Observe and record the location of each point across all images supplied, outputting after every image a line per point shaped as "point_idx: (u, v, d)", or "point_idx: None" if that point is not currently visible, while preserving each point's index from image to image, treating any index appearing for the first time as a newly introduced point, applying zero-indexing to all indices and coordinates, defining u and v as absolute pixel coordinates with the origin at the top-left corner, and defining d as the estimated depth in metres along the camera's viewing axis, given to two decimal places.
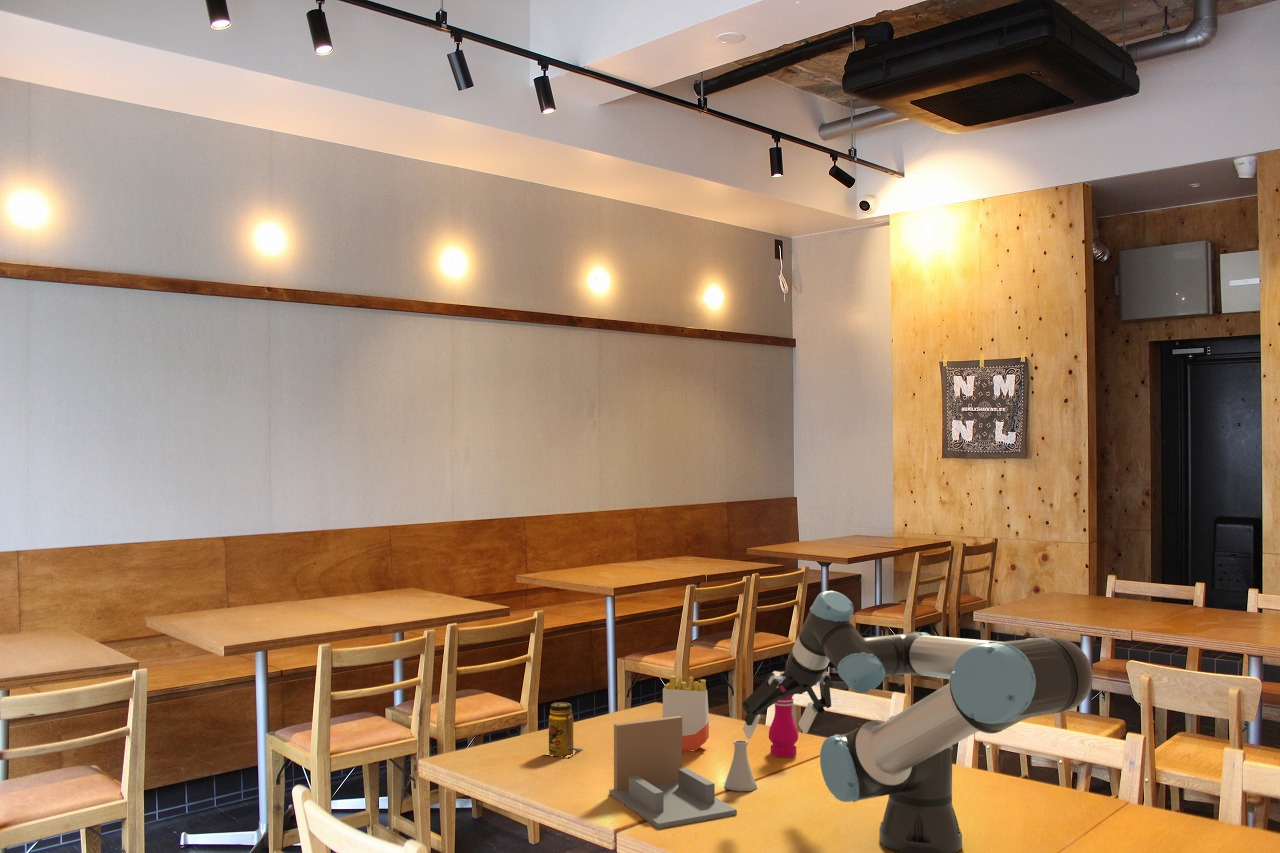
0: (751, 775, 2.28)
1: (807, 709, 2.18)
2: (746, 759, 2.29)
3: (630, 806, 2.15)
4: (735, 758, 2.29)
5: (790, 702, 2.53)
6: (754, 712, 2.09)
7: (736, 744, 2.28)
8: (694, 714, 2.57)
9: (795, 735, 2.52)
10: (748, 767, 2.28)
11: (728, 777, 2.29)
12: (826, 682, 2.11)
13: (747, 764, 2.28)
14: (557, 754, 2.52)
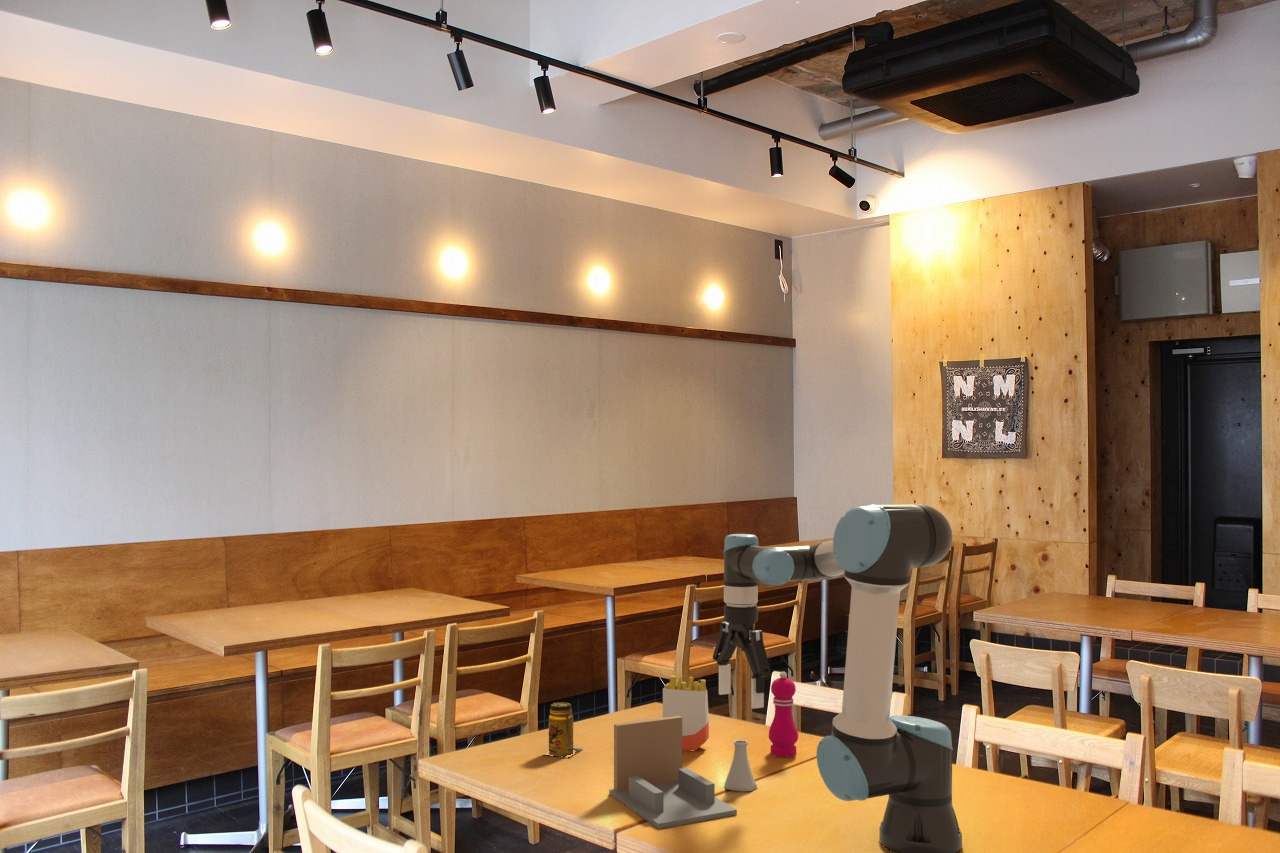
0: (751, 775, 2.28)
1: None
2: (746, 759, 2.29)
3: (630, 806, 2.15)
4: (735, 758, 2.29)
5: (790, 702, 2.53)
6: None
7: (736, 744, 2.28)
8: (694, 714, 2.57)
9: (795, 735, 2.52)
10: (748, 767, 2.28)
11: (728, 777, 2.29)
12: (751, 637, 2.24)
13: (747, 764, 2.28)
14: (557, 754, 2.52)
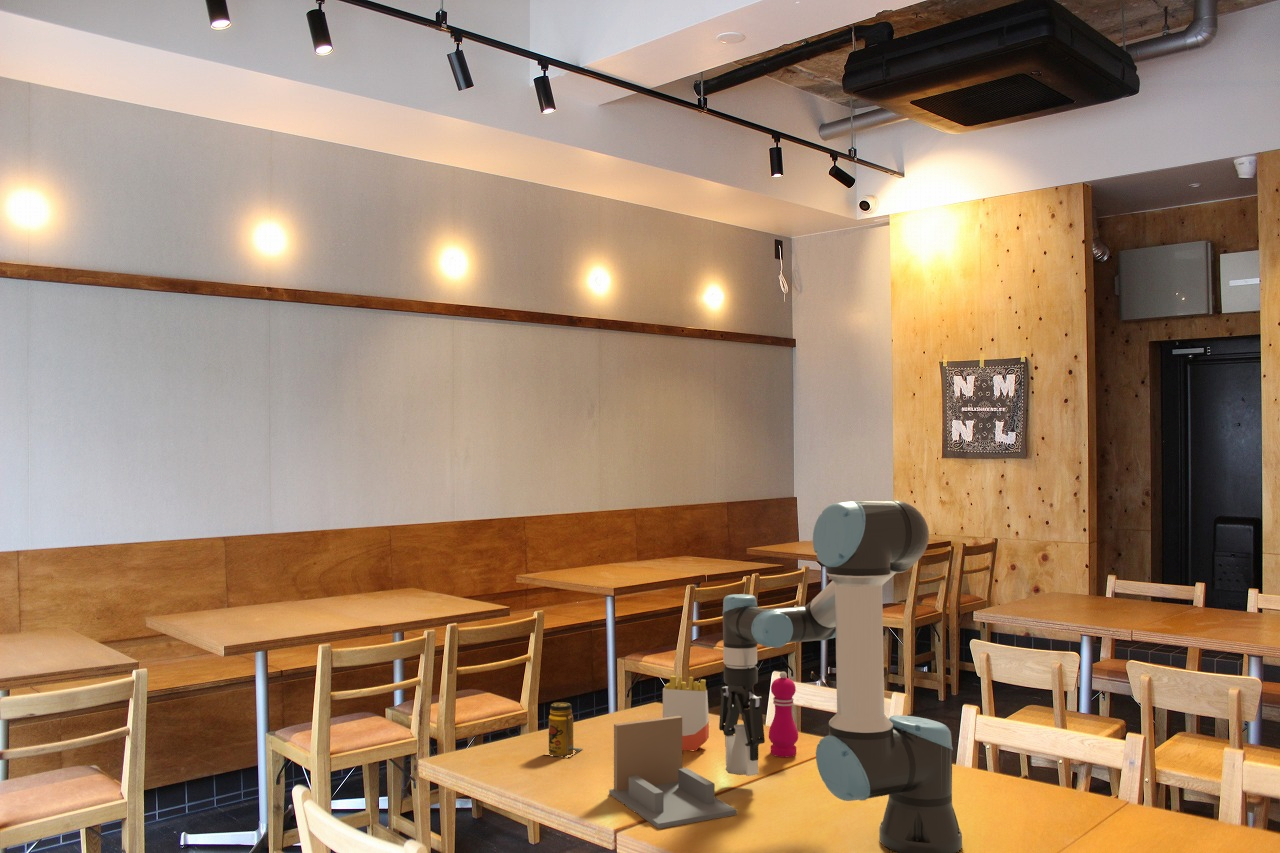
0: None
1: None
2: None
3: (630, 806, 2.15)
4: (736, 742, 2.28)
5: (790, 702, 2.53)
6: None
7: (737, 728, 2.28)
8: (694, 714, 2.57)
9: (795, 735, 2.52)
10: None
11: (729, 761, 2.29)
12: (750, 703, 2.24)
13: None
14: (557, 754, 2.52)
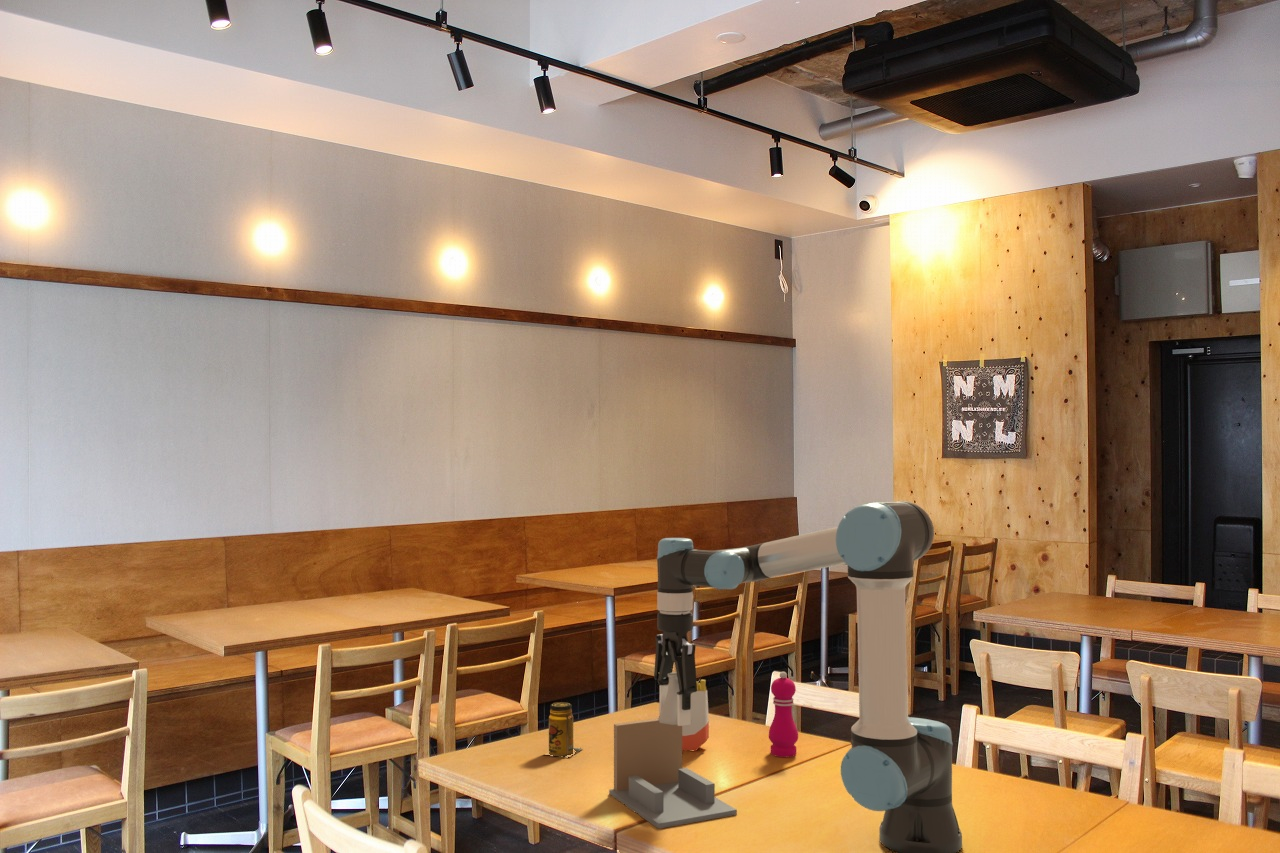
0: None
1: None
2: None
3: (630, 806, 2.15)
4: (669, 690, 2.19)
5: (790, 702, 2.53)
6: None
7: (670, 676, 2.18)
8: (694, 714, 2.57)
9: (795, 735, 2.52)
10: None
11: (662, 711, 2.19)
12: (682, 650, 2.14)
13: None
14: (557, 754, 2.52)
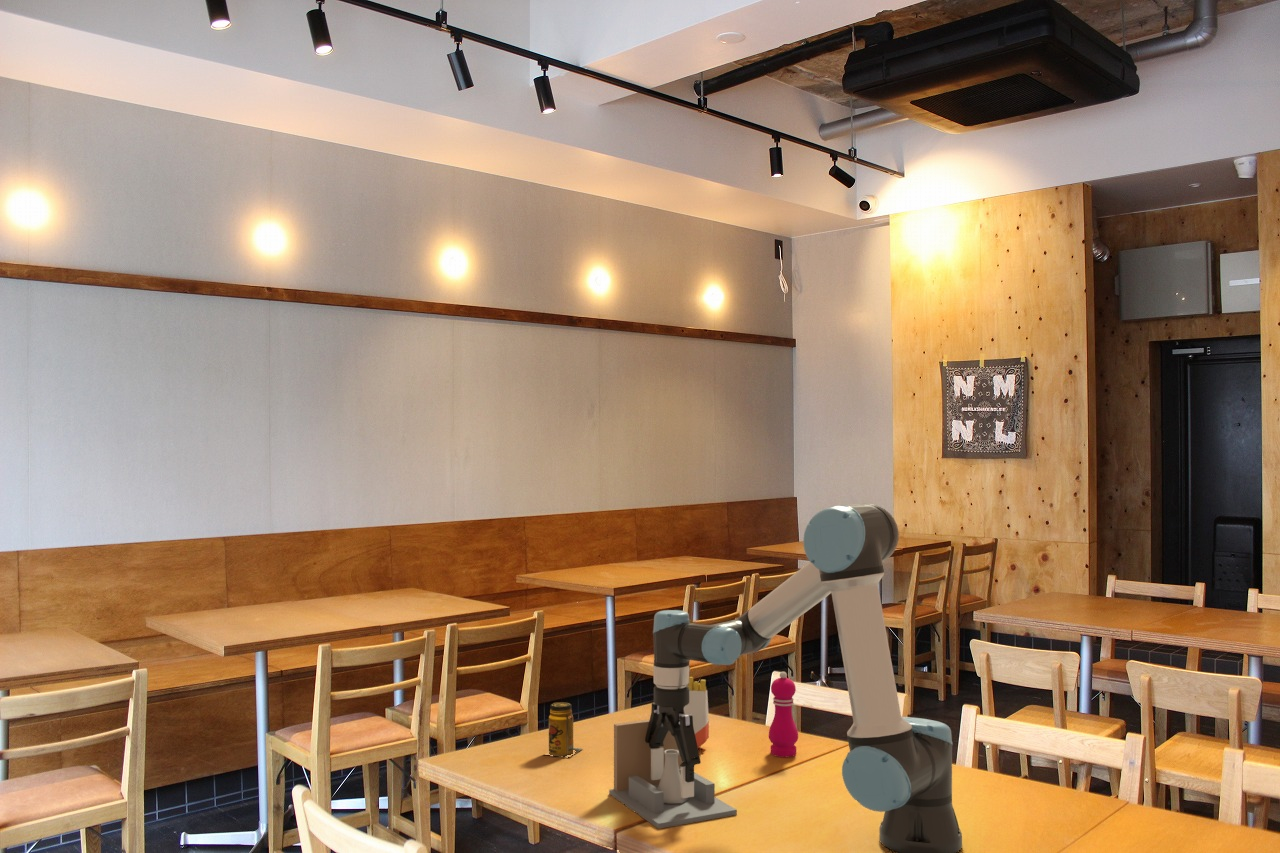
0: None
1: None
2: (677, 770, 2.17)
3: (630, 806, 2.15)
4: (665, 768, 2.17)
5: (790, 702, 2.53)
6: None
7: (666, 754, 2.17)
8: (694, 714, 2.57)
9: (795, 735, 2.52)
10: (679, 778, 2.17)
11: None
12: (680, 722, 2.13)
13: (678, 775, 2.17)
14: (557, 754, 2.52)
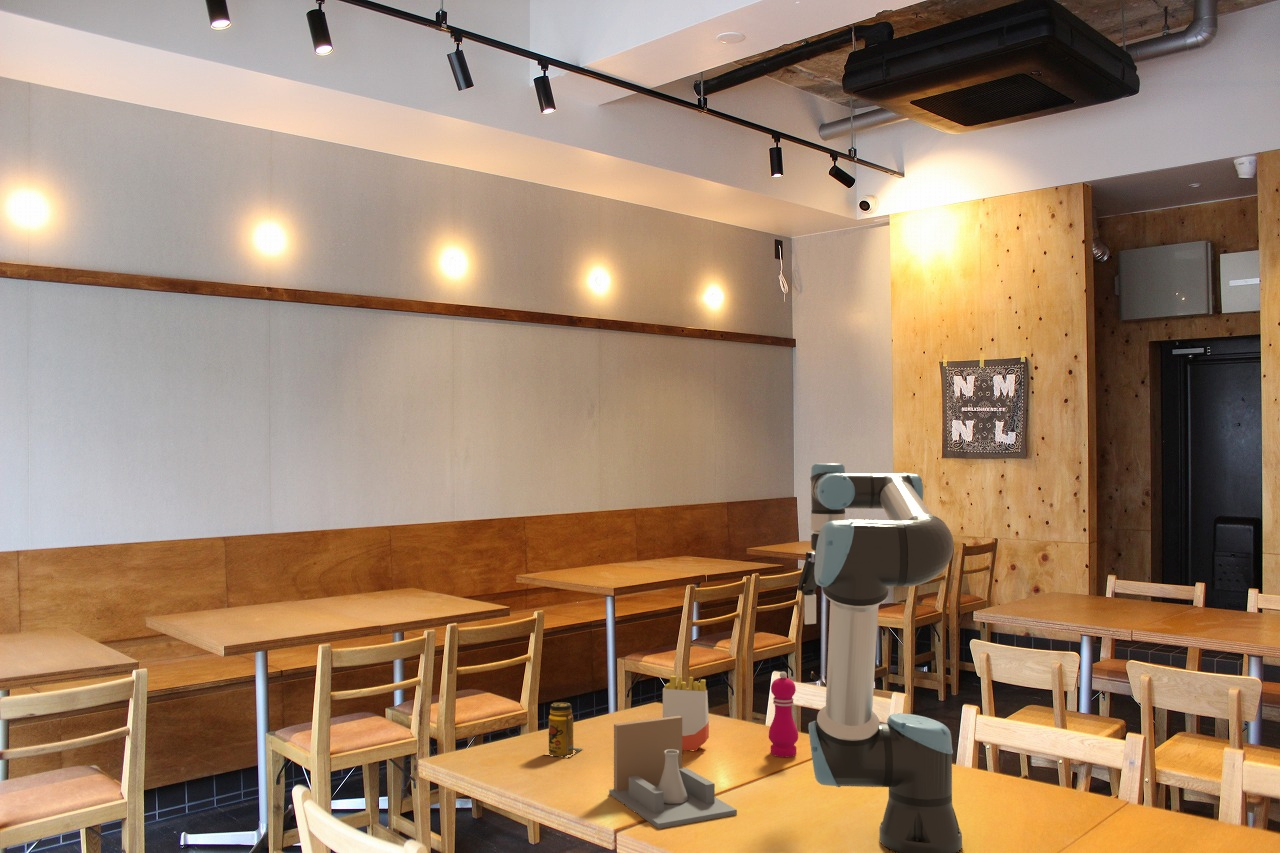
0: (682, 786, 2.17)
1: None
2: (677, 770, 2.17)
3: (630, 806, 2.15)
4: (665, 768, 2.17)
5: (790, 702, 2.53)
6: None
7: (666, 754, 2.17)
8: (694, 714, 2.57)
9: (795, 735, 2.52)
10: (679, 778, 2.17)
11: None
12: None
13: (678, 775, 2.17)
14: (557, 754, 2.52)
